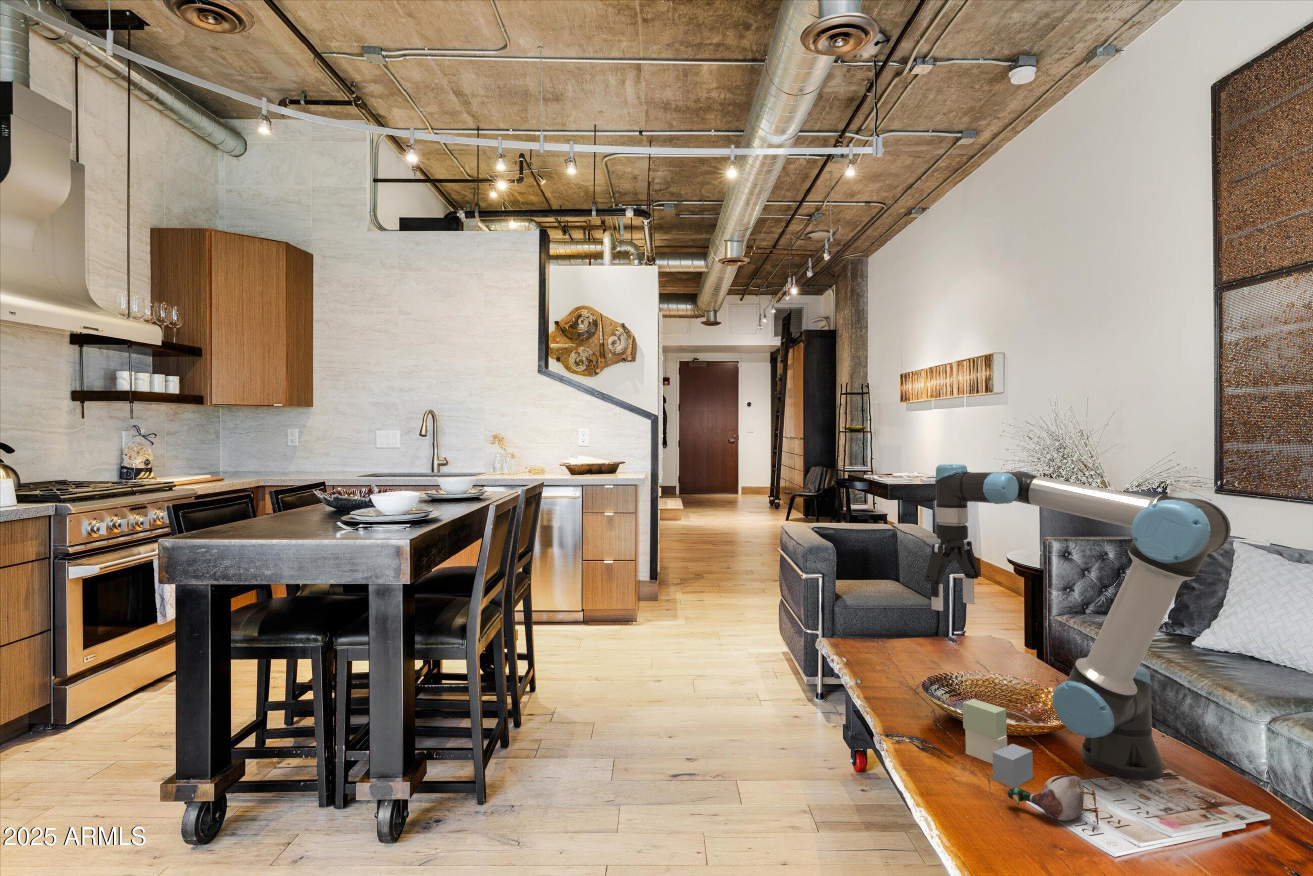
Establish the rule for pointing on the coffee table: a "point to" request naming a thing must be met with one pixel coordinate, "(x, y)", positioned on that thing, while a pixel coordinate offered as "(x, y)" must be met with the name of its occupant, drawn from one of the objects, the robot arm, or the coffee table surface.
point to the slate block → (1012, 765)
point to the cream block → (983, 745)
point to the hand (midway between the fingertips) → (953, 606)
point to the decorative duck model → (1057, 797)
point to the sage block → (984, 719)
